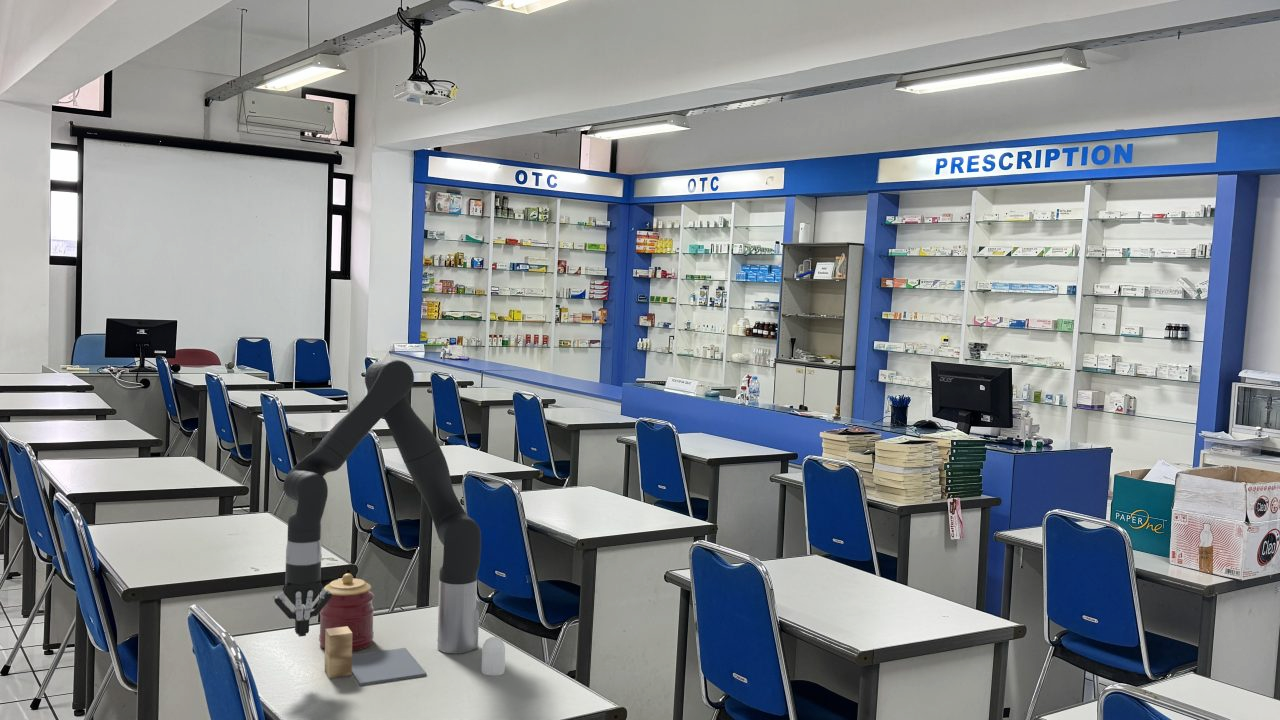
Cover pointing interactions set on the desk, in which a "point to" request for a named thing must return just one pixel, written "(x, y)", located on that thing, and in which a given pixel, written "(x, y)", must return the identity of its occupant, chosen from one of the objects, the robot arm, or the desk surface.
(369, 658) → the mat
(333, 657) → the oak block
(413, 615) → the desk surface
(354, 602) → the canister
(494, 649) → the white domed cylinder
